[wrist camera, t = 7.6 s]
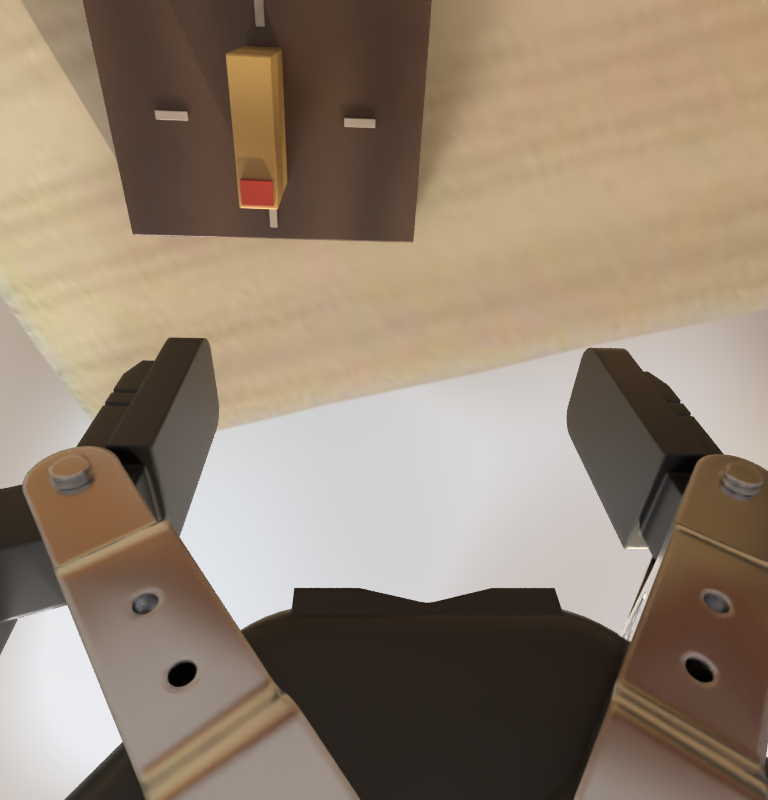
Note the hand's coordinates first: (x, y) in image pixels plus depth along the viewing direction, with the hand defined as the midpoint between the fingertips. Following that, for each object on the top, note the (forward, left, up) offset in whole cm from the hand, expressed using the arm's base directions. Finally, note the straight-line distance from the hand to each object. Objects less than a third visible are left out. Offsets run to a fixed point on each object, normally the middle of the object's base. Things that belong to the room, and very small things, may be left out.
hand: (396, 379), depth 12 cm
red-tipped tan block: (+4, -4, -18) cm, 19 cm away
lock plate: (+4, -4, -21) cm, 22 cm away
